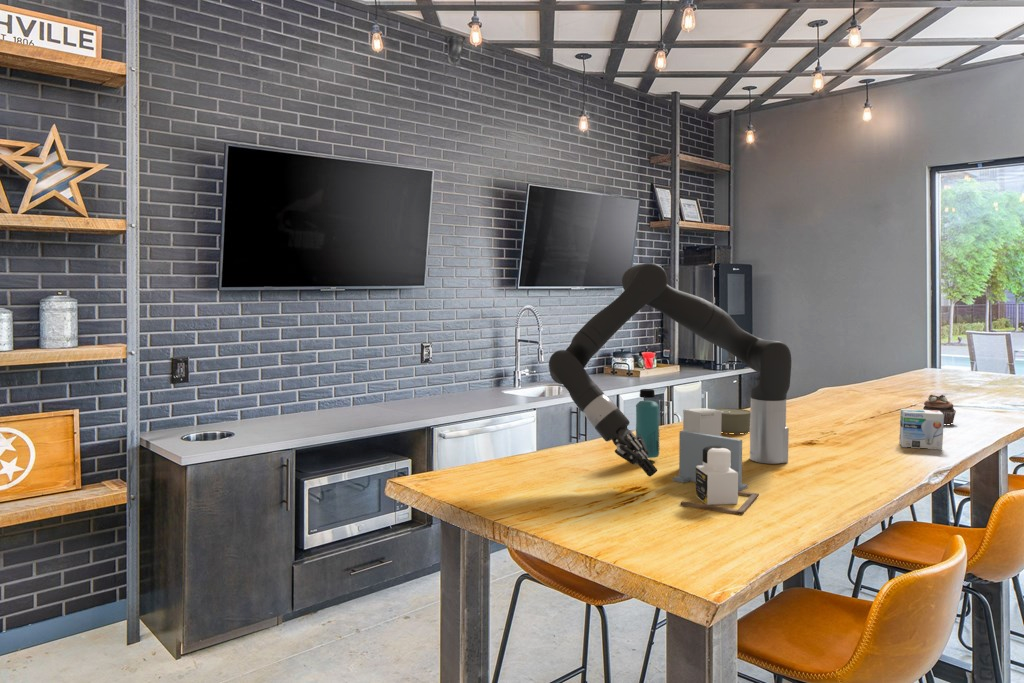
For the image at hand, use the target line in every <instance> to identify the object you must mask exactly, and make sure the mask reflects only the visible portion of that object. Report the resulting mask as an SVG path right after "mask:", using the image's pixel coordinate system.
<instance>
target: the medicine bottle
mask: <svg viewBox="0 0 1024 683" xmlns="http://www.w3.org/2000/svg"><path fill="white" fill-rule="evenodd" d="M730 466H731V451H730V449H728V448H726V447H723V446H707V447H705V448H704V449H703V465H701V466H696V482H695V497H697V498H698V499H699V500H700V501H701V502H703V503H704V505H711V506H717V505H719V506H720V505H737V504H738V503H739V501H738V500H739V498H738V497H739V495H738V473H737V472H736V471H734V470H733V469H731V468H730Z"/></svg>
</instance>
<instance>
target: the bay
mask: <svg viewBox="0 0 1024 683" xmlns="http://www.w3.org/2000/svg"><path fill="white" fill-rule="evenodd" d="M743 495H744V497H748V498H747V499H746V500H745V502H744V503H743V504H741V506H740V507H739V508H738V509H736V508H730V507H729V508H728V507H723V506H717V505H706V504H705V503H704V504H703V503H696V502H689V501H685V500H684V501H680V504H679V505H680V506H683V507H689V508H695V509H703V510H707V509H708V511H715V512H721V513H726V514H727V513H728V514H734V515H739V514H740V516H743V515H744V514H745V513H746V512H747V510H749V508H750V507H751V506H752V505H753V504H754V502H756V500H757V499H758V498H759V497H760V494H759V493H756V492H750V491H744V490H741V491H738V496H743ZM758 496H759V497H758ZM757 497H758V498H757ZM751 504H752V505H751ZM744 512H745V513H744Z"/></svg>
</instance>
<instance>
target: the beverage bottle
mask: <svg viewBox="0 0 1024 683" xmlns="http://www.w3.org/2000/svg"><path fill="white" fill-rule="evenodd" d="M639 397H640V398H643V399H644V398H647V399H648V398H649V399H651V398H655V397H656V395H655V389H653V388H652V389H651V388H641V389H640V390H639ZM659 407H660V405H659V404H658V402H656V401H654V400H640V401H638V402H637V403H636V404H635V436H636V437H637V438H638V437H639V436H641V437H642V438H643V440H644V443H645V445H646V447H647V450H648V452H649V454H648V455H647V456H648V459H651V458H652V459H653V458H658V457H659V455H660V424H659V423H660V421H659V420H660V419H659V416H660V415H659V414H660V413H659Z"/></svg>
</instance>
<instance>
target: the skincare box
mask: <svg viewBox="0 0 1024 683" xmlns="http://www.w3.org/2000/svg"><path fill="white" fill-rule="evenodd" d="M682 412H683V415H682V416H683V421H682V422H683V426H682V428H683V429H682V430H684V431H690V432H697V433H703V434H709V435H716V436H722V434H721V420H722V411H720V410H715V409H713V408H707V407H703V408H700V407H699V408H686V409H685V408H684V409H683V410H682Z"/></svg>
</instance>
